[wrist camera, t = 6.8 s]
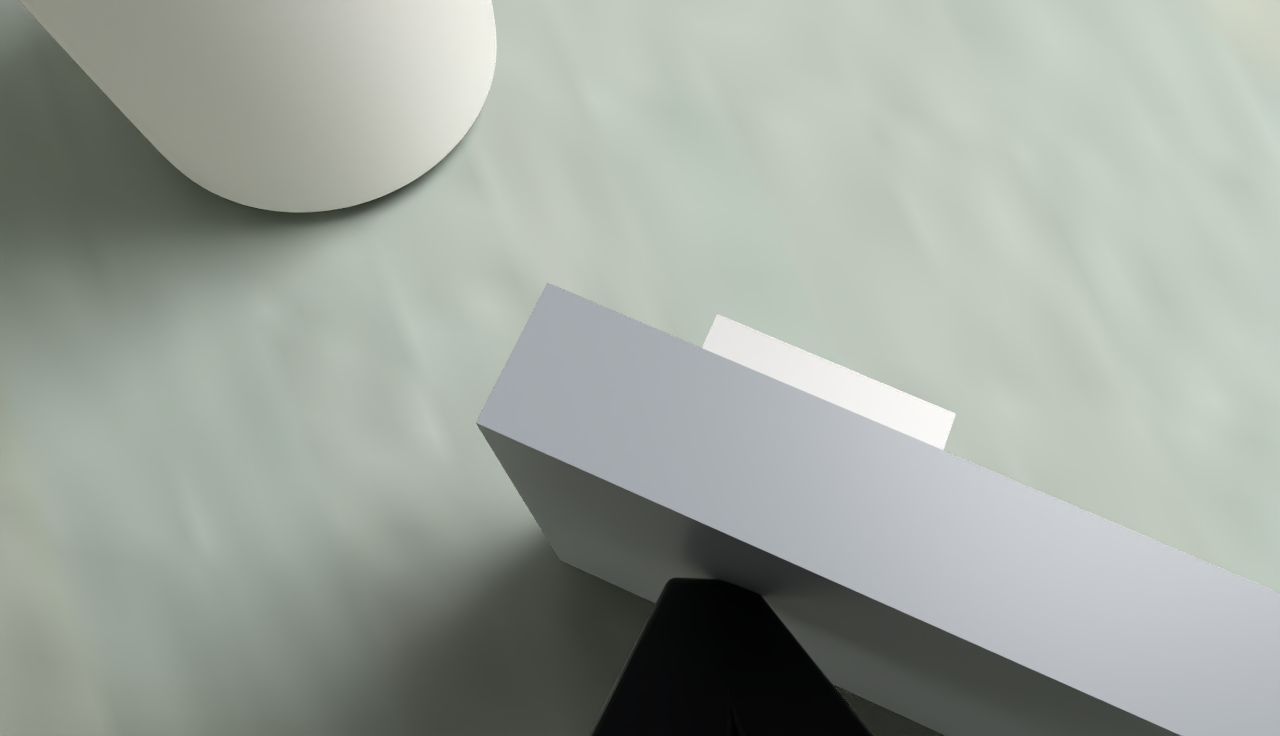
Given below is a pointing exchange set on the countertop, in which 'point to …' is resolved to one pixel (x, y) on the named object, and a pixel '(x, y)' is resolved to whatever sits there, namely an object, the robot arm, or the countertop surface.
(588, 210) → the countertop surface
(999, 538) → the side door
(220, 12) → the can
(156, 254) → the countertop surface
